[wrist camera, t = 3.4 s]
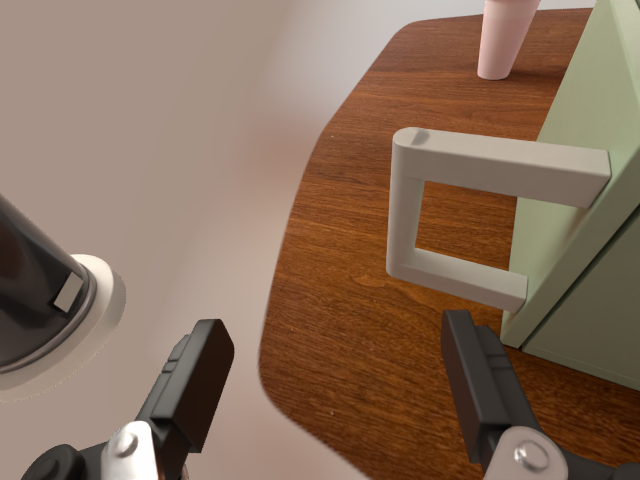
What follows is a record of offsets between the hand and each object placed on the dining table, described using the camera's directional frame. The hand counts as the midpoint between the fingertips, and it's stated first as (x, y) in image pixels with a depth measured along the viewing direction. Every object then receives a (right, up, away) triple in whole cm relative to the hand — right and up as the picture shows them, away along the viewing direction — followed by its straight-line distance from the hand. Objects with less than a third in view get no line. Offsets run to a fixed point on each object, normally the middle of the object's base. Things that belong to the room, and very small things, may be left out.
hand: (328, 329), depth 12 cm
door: (+11, +4, +13) cm, 17 cm away
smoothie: (+22, +25, +30) cm, 45 cm away
